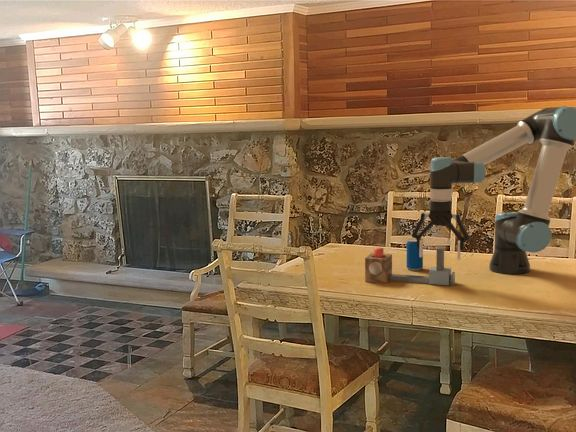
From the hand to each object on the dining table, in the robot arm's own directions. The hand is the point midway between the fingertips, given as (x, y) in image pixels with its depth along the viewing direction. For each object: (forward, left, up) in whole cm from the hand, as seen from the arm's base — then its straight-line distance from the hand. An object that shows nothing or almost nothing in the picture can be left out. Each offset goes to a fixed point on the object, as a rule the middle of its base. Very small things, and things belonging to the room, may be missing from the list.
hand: (439, 257), depth 225 cm
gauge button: (+23, 0, -3) cm, 23 cm away
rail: (+7, 0, -10) cm, 12 cm away
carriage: (0, 0, -10) cm, 10 cm away
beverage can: (+13, -20, -10) cm, 26 cm away
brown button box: (+23, 0, -10) cm, 25 cm away
